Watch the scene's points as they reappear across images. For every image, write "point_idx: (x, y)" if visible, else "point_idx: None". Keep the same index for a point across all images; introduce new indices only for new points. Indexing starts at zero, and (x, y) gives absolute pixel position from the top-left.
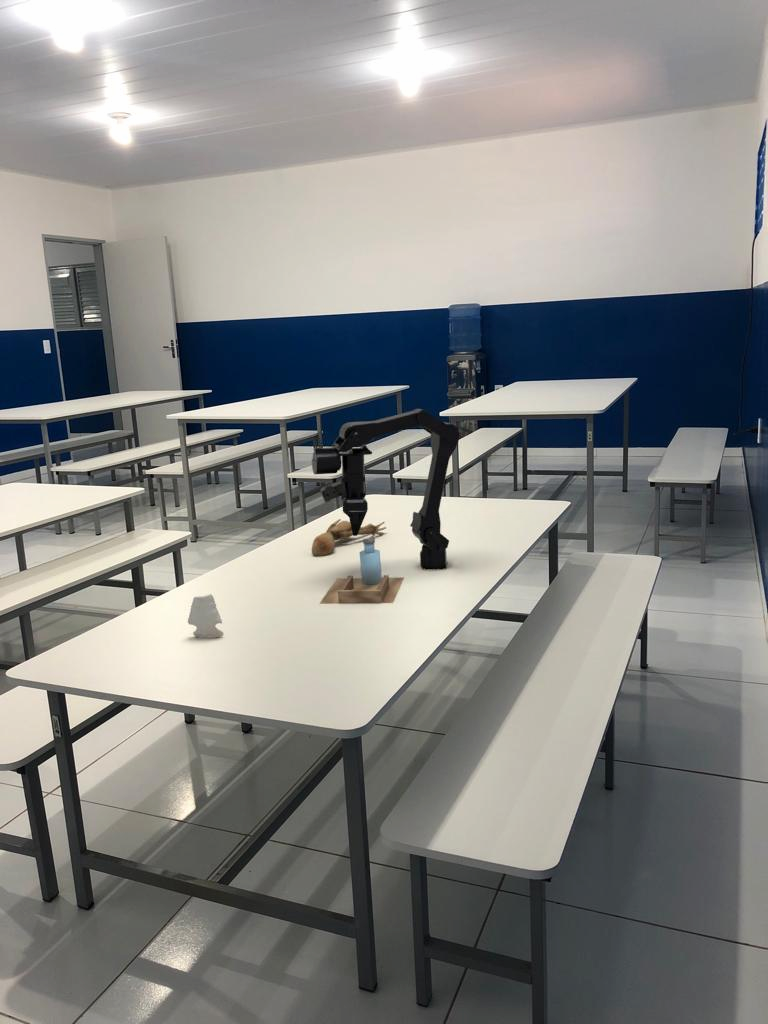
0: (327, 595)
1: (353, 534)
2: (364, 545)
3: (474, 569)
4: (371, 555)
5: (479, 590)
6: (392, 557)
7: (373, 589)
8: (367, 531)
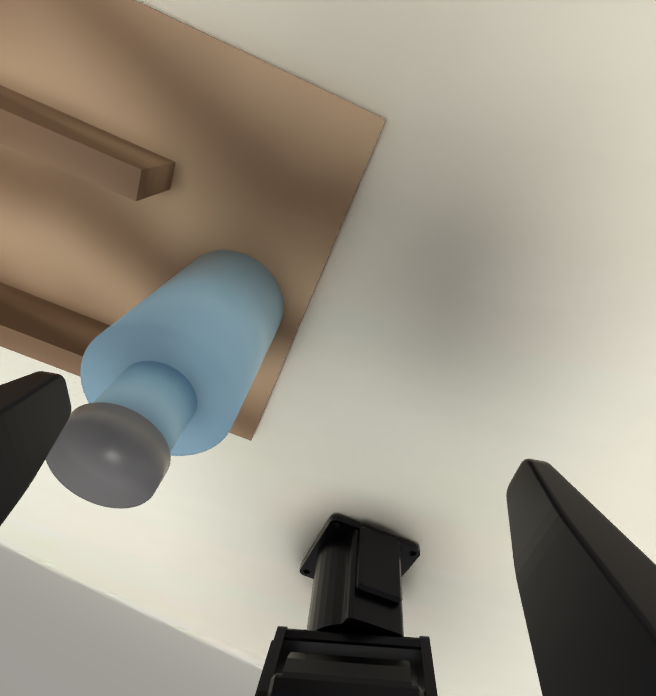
0: None
1: (23, 382)
2: (106, 397)
3: (282, 621)
4: (85, 384)
5: (68, 564)
6: (628, 487)
7: (104, 279)
8: None
